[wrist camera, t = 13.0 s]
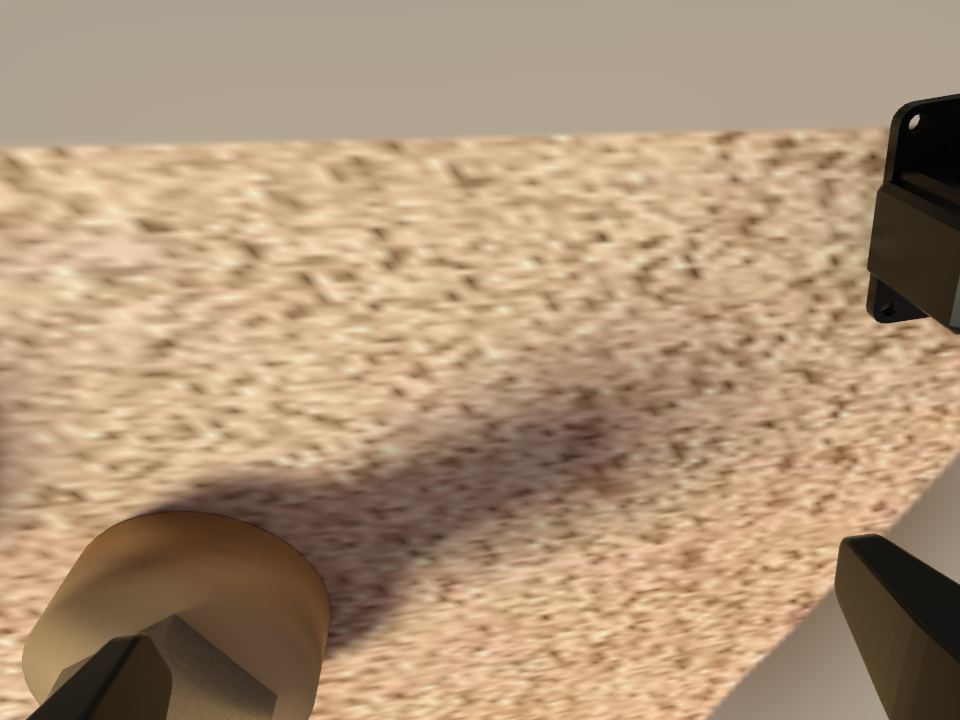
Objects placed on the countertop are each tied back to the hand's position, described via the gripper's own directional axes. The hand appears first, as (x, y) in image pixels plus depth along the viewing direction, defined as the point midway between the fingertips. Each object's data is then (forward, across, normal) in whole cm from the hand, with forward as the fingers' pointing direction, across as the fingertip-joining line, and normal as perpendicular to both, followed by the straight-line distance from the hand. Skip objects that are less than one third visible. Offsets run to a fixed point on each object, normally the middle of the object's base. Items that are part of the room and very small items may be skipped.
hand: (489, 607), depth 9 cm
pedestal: (+13, +13, +13) cm, 23 cm away
